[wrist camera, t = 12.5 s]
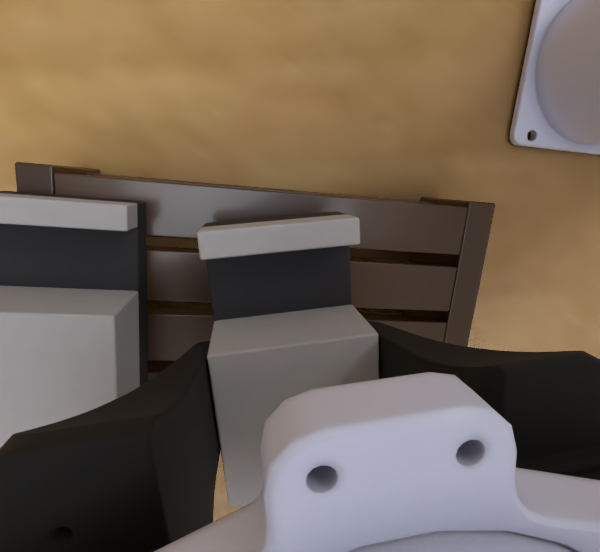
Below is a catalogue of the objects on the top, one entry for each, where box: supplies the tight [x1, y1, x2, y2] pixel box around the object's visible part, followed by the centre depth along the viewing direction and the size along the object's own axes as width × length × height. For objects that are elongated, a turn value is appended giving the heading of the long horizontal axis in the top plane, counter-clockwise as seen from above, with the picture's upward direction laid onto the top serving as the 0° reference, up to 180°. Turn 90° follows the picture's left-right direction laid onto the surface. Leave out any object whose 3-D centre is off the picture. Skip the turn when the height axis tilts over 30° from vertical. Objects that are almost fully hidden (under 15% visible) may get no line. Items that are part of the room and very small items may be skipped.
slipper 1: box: [0, 191, 147, 448], centre depth 12 cm, size 8×5×4 cm, turn 175°
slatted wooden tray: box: [15, 162, 495, 382], centre depth 18 cm, size 18×10×4 cm, turn 85°
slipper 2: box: [197, 211, 379, 507], centre depth 12 cm, size 8×5×4 cm, turn 4°
